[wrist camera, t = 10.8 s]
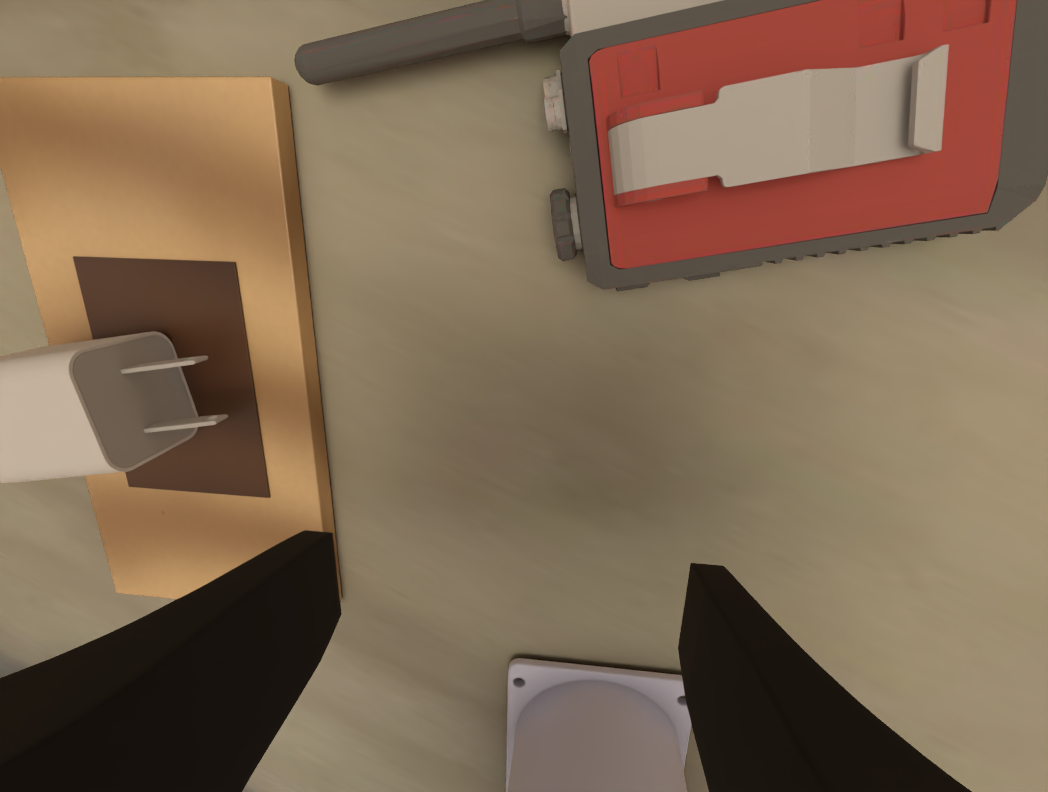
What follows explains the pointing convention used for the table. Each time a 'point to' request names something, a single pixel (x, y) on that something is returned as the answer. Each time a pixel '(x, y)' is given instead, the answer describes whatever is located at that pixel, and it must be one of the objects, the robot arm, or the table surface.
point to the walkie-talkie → (760, 121)
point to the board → (181, 301)
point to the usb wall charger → (93, 407)
